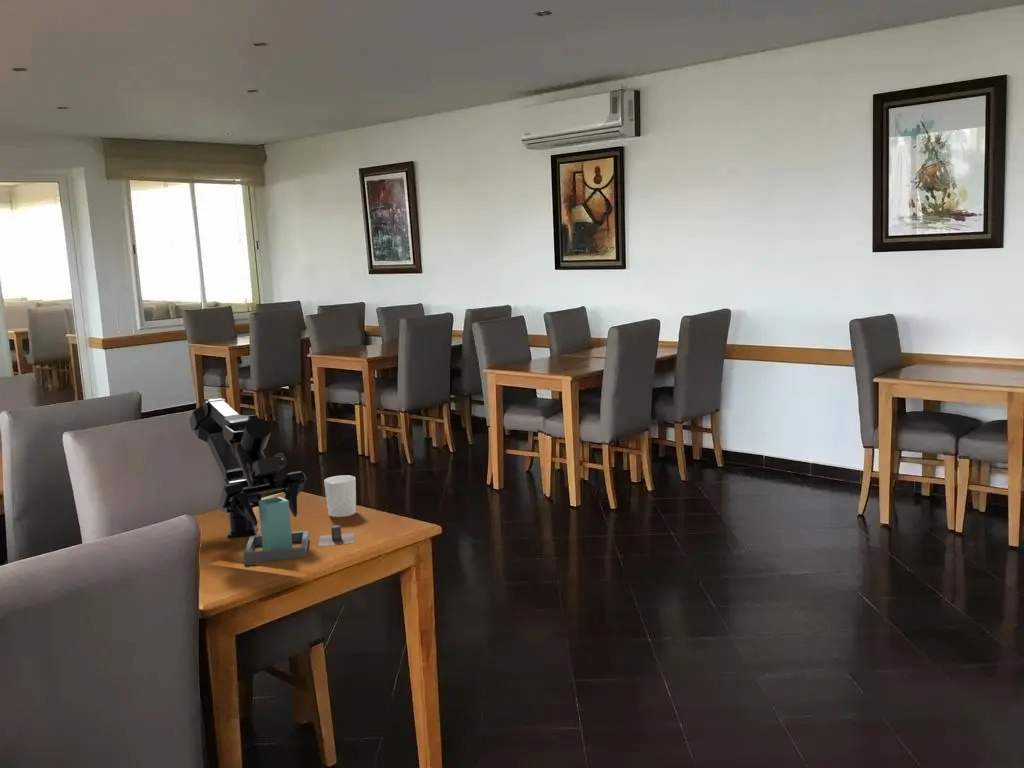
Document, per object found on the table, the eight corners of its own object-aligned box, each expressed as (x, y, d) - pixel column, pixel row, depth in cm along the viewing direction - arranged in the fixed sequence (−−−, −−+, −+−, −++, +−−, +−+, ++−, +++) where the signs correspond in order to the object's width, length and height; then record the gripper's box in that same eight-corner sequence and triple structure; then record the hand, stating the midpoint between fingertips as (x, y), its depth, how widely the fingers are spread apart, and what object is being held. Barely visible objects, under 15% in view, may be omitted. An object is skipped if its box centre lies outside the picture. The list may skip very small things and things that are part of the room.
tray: (251, 548, 199) (250, 535, 199) (309, 542, 201) (308, 530, 201) (244, 567, 187) (243, 553, 186) (306, 561, 189) (305, 547, 188)
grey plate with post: (320, 539, 203) (318, 523, 203) (354, 536, 205) (353, 520, 204) (318, 550, 196) (317, 533, 195) (354, 547, 197) (353, 530, 196)
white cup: (320, 520, 220) (317, 482, 218) (337, 511, 227) (334, 474, 225) (347, 522, 217) (344, 483, 215) (363, 513, 224) (361, 476, 223)
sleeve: (262, 552, 194) (258, 500, 193) (283, 547, 197) (279, 496, 196) (271, 557, 190) (267, 505, 189) (292, 552, 193) (288, 500, 192)
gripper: (220, 449, 189) (242, 509, 181) (300, 436, 200) (324, 492, 193) (211, 478, 196) (232, 536, 189) (289, 464, 207) (312, 518, 200)
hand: (276, 520), depth 192 cm, fingers open, 9 cm apart
